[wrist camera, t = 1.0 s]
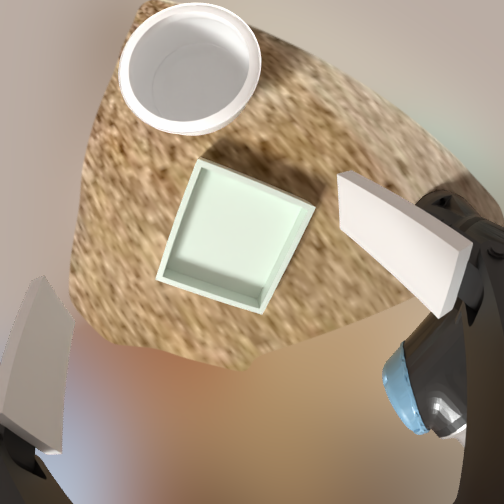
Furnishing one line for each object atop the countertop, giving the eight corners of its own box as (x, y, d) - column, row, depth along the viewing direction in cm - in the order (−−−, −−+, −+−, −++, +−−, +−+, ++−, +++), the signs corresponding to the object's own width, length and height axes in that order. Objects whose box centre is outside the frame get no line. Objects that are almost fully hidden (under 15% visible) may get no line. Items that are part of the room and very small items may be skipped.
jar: (155, 61, 28) (114, 19, 15) (241, 48, 29) (253, -5, 15) (164, 143, 32) (125, 147, 19) (250, 130, 33) (270, 124, 19)
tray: (307, 200, 37) (315, 207, 34) (259, 300, 42) (262, 314, 38) (200, 156, 34) (197, 158, 30) (160, 267, 38) (155, 279, 35)
